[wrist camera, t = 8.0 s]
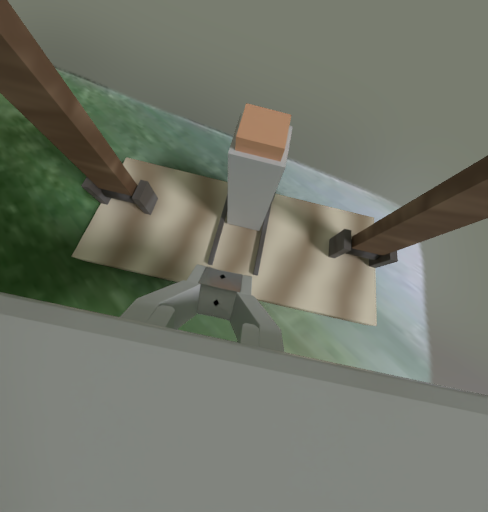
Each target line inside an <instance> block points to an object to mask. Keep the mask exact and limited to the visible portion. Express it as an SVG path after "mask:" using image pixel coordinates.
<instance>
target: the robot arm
mask: <svg viewBox="0 0 488 512" xmlns="http://www.w3.org/2000/svg"><path fill="white" fill-rule="evenodd" d="M251 290H252V276H247V275H242V274H237V273H232V272H227V271H224V270H220V269H215V268H211V267H206V266H203V265H199V264H197V265H196V266H195V268H194V269H193V271H192V272H191V274H190V276H189V277H188V279H187V280H186V281H185V280H183V281H180V282H177V283H175V284H172V285H170V286H167V287H165V288H162V289H160V290H157V291H155V292H152V293H149V294H147V295H144V296H142V297H139V298H137V299H136V300H135V301H134V302H133V303H132V304H131V305H130V306H129V307H128V309H127V310H126V311H125V312H124V313H123V314H122V315H121V316H120V317H115V316H111V315H106V314H101V313H96V312H92V311H87V310H82V309H78V308H73V307H68V306H63V305H59V304H54V303H49V302H45V301H40V300H35V299H31V298H26V297H21V296H16V295H12V294H7V293H2V292H0V512H488V395H484V394H479V393H474V392H469V391H465V390H460V389H455V388H450V387H446V386H441V385H436V384H431V383H427V382H422V381H417V380H413V379H408V378H403V377H398V376H394V375H389V374H384V373H380V372H375V371H370V370H365V369H361V368H356V367H351V366H347V365H342V364H337V363H333V362H328V361H323V360H318V359H313V358H308V357H304V356H299V355H294V354H290V353H285V352H284V347H283V340H282V333H281V329H280V328H279V327H278V326H277V324H276V323H275V322H274V320H273V319H272V318H271V317H270V315H269V314H268V313H267V312H266V310H265V309H264V308H263V307H262V305H261V304H260V303H259V302H258V300H257V299H256V298H255V297H254V296H252V295H251ZM197 313H198V314H203V315H208V316H214V317H218V318H222V319H226V320H230V323H231V326H232V328H233V330H234V333H235V335H236V338H237V340H238V341H237V342H234V341H229V340H224V339H219V338H215V337H210V336H205V335H200V334H196V333H191V332H186V331H181V330H177V329H178V328H179V327H181V326H182V325H183V324H184V323H186V322H187V321H188V320H190V319H191V318H192V317H194V316H195V315H196V314H197Z"/></svg>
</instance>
